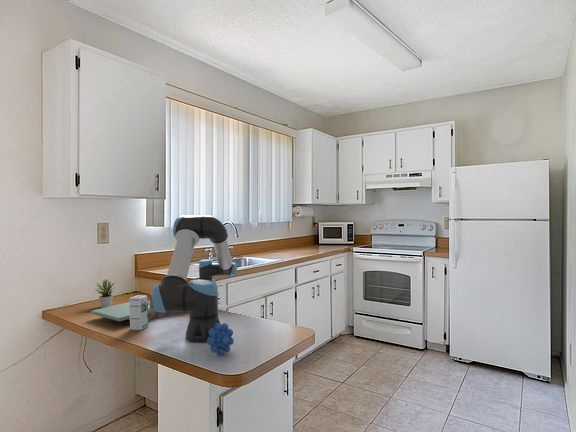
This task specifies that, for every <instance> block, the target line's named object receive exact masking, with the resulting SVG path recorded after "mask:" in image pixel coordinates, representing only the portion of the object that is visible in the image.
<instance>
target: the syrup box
mask: <svg viewBox="0 0 576 432" xmlns="http://www.w3.org/2000/svg"><path fill="white" fill-rule="evenodd" d="M148 299H149V298H148V295H146V294H138V295H135V296H131V297H129V301H128V302H129V306H130V320H129V329H130V330H132V331H133V330H134V331H142V330H143V329H145V328H148V327H149V326H150V325H149V320H148V301H149V300H148Z"/></svg>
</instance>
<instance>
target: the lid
mask: <svg viewBox="0 0 576 432" xmlns="http://www.w3.org/2000/svg"><path fill="white" fill-rule="evenodd" d="M149 301H150V305H148V314H149V313H153V312H157V311H156V310H155V308H154V305H153V300H152V293H150V294H149ZM90 314H91V315H95V316H98V317H102V318H105V319H110V320H113V321H117V322H122V321H126V320H127V319H130V306H129V301H128V302H124V303H120V304H114V305H111V306H110V307H106V308H97V309H94V310H92V309H91V310H90Z"/></svg>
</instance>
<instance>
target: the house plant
mask: <svg viewBox="0 0 576 432" xmlns="http://www.w3.org/2000/svg"><path fill="white" fill-rule="evenodd" d="M114 284H115V282H113V283H112V284H111V281H110V280H109V278H107V279H104V280H102V285H101V284H100V283H99V282H96V286H97V287H98V288H95V291H93V292H94V293H95V292H97V294H100V295H99V297H98V299H99V303H100V307H101V308H106V307H110V306H113V305H112V303H113V297H114V295H113V294H112V293H113V292H115V290H114V291H113V289H115V287H114ZM112 287H113V288H112ZM101 308H100V309H101Z"/></svg>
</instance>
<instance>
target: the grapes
mask: <svg viewBox="0 0 576 432" xmlns="http://www.w3.org/2000/svg"><path fill="white" fill-rule="evenodd" d="M209 335H210V336H211V337H209V338H208V339H207V342H206V343H207V345H208V346H210V347H209V349H210V352H211V353H213V354H214V353H215V354H217V355H218V356H223V355H224V354H225V353H229V352H231V346H232V345H234V342H235V341H234V337H233V336H234V330H233V329H232V328H229V325H228V323H226V322H224V323H222V324H221V322H220V323H216V324H215V326H214V328H211V329H210V330H209Z"/></svg>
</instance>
